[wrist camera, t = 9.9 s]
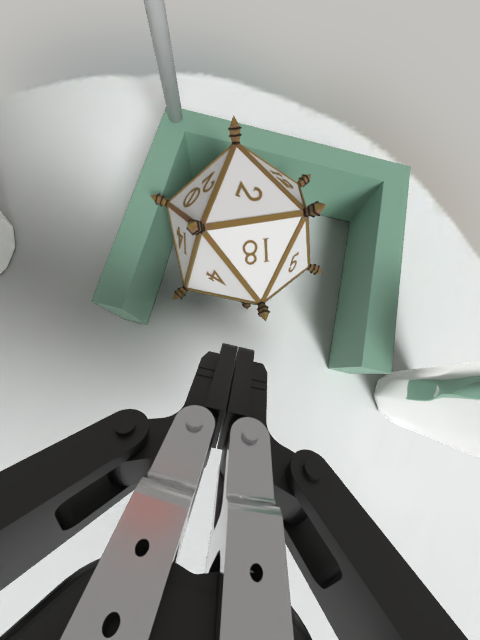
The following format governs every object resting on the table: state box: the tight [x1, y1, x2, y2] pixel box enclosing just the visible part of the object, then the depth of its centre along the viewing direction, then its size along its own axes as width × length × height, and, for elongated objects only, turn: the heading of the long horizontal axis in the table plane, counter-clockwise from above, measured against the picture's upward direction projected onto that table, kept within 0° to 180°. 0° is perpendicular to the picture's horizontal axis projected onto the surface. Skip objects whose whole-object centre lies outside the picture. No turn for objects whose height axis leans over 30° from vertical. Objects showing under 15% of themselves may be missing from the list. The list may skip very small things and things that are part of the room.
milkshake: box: [374, 361, 480, 459], centre depth 11 cm, size 4×5×10 cm
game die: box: [150, 115, 326, 321], centre depth 13 cm, size 9×8×10 cm
